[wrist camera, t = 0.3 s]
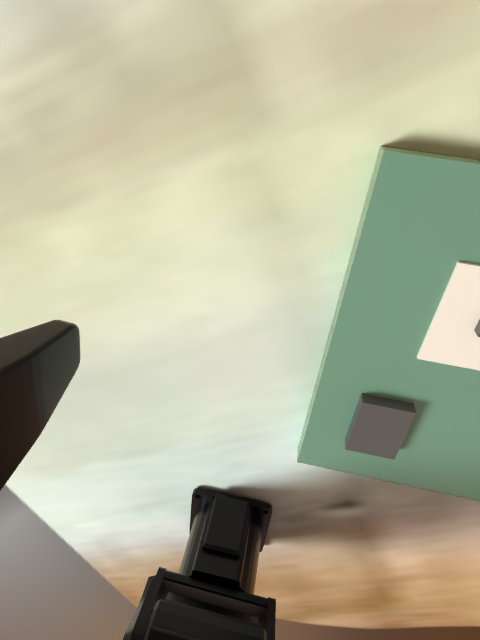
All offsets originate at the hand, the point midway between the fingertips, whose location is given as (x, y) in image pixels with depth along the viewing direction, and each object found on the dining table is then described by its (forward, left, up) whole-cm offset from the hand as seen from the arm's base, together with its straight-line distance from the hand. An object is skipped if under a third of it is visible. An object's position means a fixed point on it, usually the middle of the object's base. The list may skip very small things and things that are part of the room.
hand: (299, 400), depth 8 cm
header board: (-7, -9, -14) cm, 18 cm away
